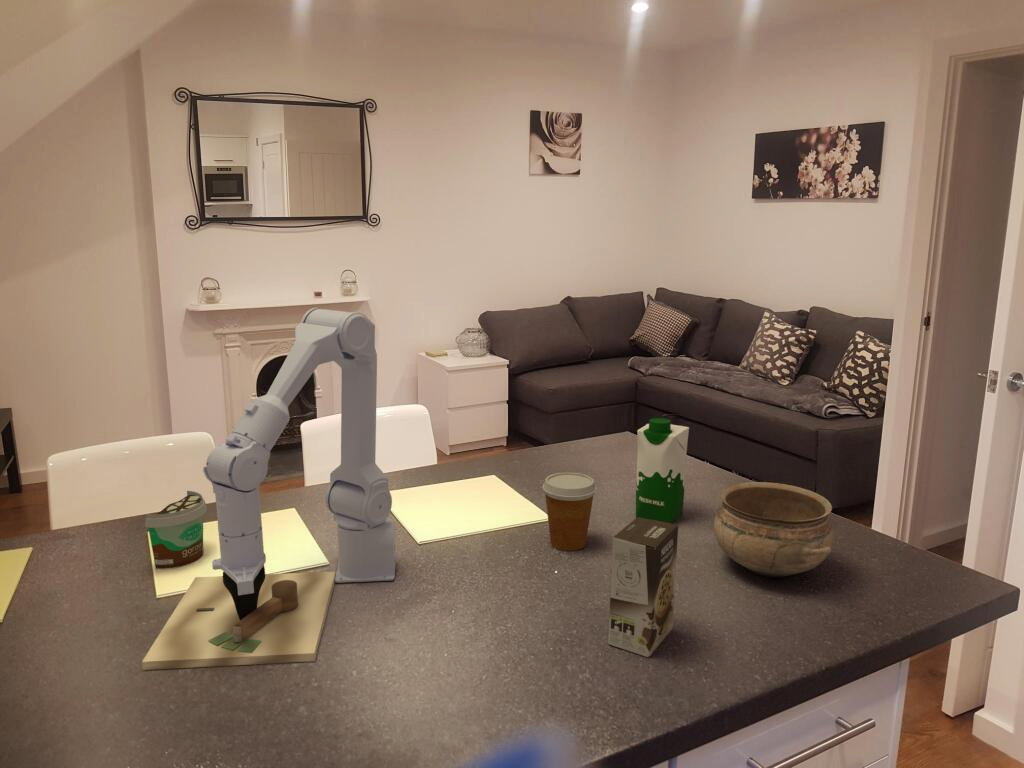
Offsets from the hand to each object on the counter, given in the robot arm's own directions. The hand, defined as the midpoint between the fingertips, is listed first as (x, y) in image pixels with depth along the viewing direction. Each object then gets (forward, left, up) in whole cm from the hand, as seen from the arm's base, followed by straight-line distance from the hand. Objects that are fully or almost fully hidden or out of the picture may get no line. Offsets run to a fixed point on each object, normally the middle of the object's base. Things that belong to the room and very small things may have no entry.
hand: (247, 618), depth 112 cm
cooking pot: (-82, -12, -2) cm, 83 cm away
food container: (+16, -25, -2) cm, 30 cm away
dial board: (+1, -3, -2) cm, 4 cm away
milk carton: (-70, -36, -2) cm, 79 cm away
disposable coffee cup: (-50, -25, -2) cm, 57 cm away
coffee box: (-55, +7, -2) cm, 56 cm away
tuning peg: (-2, 0, -1) cm, 2 cm away
